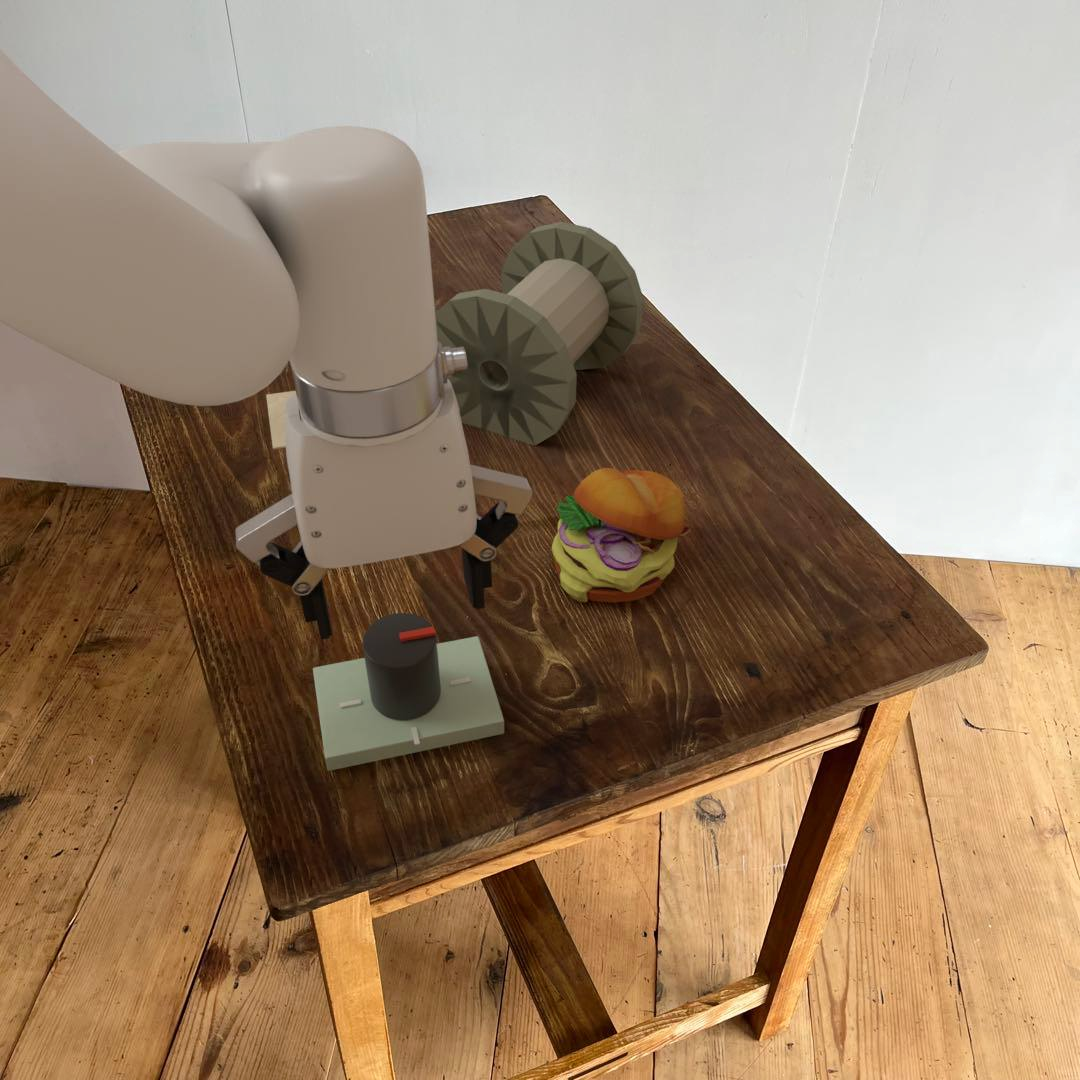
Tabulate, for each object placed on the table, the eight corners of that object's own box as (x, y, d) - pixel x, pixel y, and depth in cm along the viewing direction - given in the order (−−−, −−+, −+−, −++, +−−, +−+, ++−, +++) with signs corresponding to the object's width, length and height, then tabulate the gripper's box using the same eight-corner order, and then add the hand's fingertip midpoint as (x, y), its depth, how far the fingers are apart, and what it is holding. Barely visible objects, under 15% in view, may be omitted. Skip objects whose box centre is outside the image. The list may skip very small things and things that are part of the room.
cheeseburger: (518, 571, 83) (538, 463, 78) (600, 534, 90) (624, 434, 85) (611, 633, 78) (639, 523, 73) (691, 589, 85) (722, 486, 80)
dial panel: (331, 791, 67) (325, 763, 65) (317, 689, 74) (311, 660, 72) (506, 753, 70) (506, 725, 68) (478, 657, 76) (477, 629, 74)
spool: (509, 341, 110) (507, 209, 100) (637, 377, 105) (648, 241, 95) (428, 420, 99) (417, 280, 89) (566, 465, 94) (570, 321, 84)
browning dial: (376, 727, 68) (367, 670, 64) (366, 673, 71) (357, 616, 67) (447, 712, 69) (442, 655, 65) (433, 660, 72) (428, 603, 68)
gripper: (512, 322, 57) (517, 545, 69) (196, 367, 54) (258, 593, 65) (547, 396, 52) (547, 623, 63) (199, 451, 49) (266, 680, 60)
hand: (400, 608), depth 64 cm, fingers open, 9 cm apart
